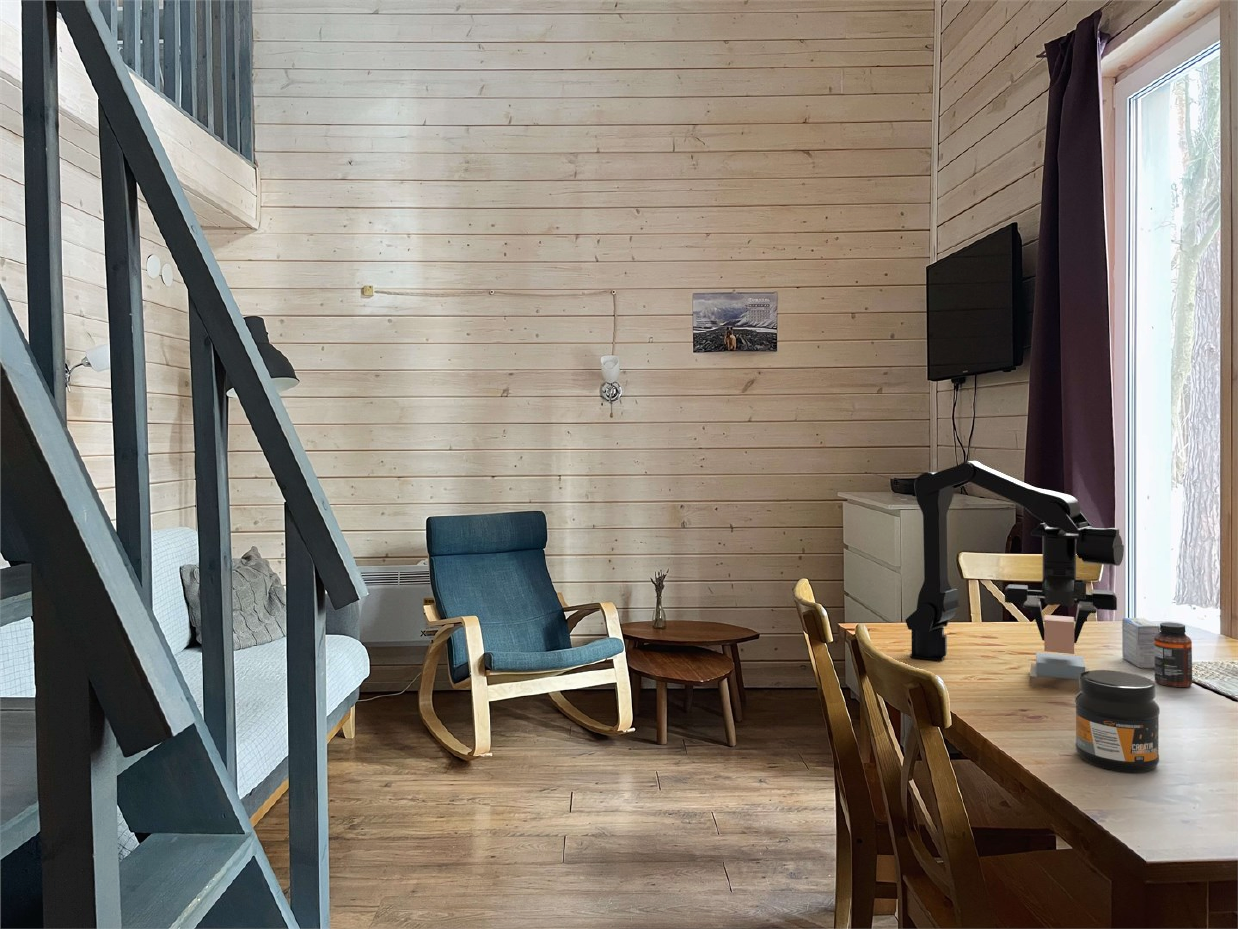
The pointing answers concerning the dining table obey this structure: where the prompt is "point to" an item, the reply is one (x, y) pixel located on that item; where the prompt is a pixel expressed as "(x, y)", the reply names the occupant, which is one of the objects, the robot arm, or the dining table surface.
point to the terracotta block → (1059, 634)
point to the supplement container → (1117, 721)
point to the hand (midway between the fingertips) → (1059, 641)
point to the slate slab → (1059, 665)
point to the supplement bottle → (1173, 656)
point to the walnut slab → (1053, 681)
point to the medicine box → (1139, 641)
